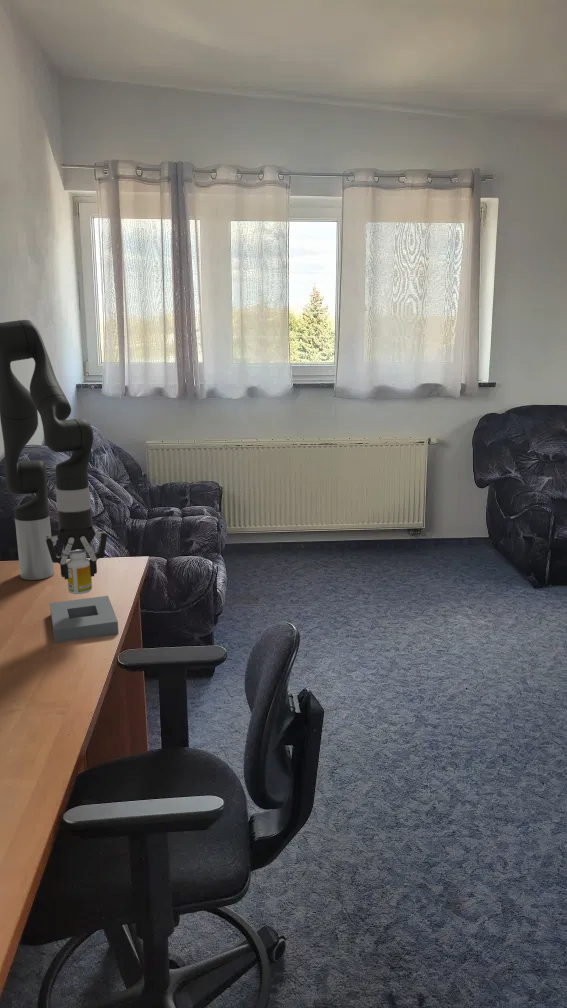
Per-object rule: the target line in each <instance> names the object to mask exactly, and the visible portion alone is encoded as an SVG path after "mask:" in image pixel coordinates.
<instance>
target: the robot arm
mask: <svg viewBox="0 0 567 1008" xmlns="http://www.w3.org/2000/svg"><path fill="white" fill-rule="evenodd" d="M29 359H33V361H34V369H33V373H32V376H31V380H30V384H29V390H28V389H27V388H26V387H25V386H24V385H23V383H22V382H21V381H20V380H19V378H17V376H16V375H15V374H14V372H13V371H12V367H11V363H12V362H16V361H18V362H19V361H22V360H23V361H24V360H29ZM38 413H39V415H38ZM71 413H72V407H71V404H70V402H69V400H68V398H67V396H66V395H65V393H64V391H63V389H62V387H61V385H60V383H59V382H58V380H57V377H56V374H55V371H54V369H53V366H52V362H51V360H50V356H49V354H48V351H47V348H46V346H45V342H44V340H43V338H42V335H41V333H40V330H39V329H38V326H37V325H36V324H35V323H34V322H33V321H32V320H28V319H21V320H18V319H17V320H12V321H3V322H0V425H1V426H0V427H1V435H2V439H3V449H4V450H3V451H4V479H5V485H6V488H7V489H6V490H7V491H8V492H9V493H10V494H11V495H16V496H17V495H29V494H35V496H34V497H33V498H32V499H30V500H29V501H27V502H25V503H23V504H21V505H18V506H17V507H15V509H14V523H15V532H16V534H15V535H16V543H17V553H18V562H19V563H18V564H19V573H20V574H19V575H20V576H19V577H20V578H21V579H22V580H25V581H38V580H44V579H48V578H50V577H52V576H54V574H55V568H54V567H55V566H54V564H59V566H60V575H61V577H62V578H64V580H68V573H67V562H68V561H67V559H68V558H69V553H70V551H75V550H77V549H79V550H86V552H87V554H88V556H89V560H90V566H91V578H92V577H95V575H96V574H97V573H98V567H97V566H98V565H97V562H98V561H97V560H99V559H102V558H104V557H105V553H106V545H107V539H108V535H107V532H106V531H105V530H101V531H95V529H94V525H93V513H92V500H91V498H92V497H91V492H90V487H89V486H90V485H89V484H90V483H89V474H88V473H89V471H88V469H89V463H90V459H91V458H90V457H91V452H92V448H93V444H94V443H93V442H94V430H93V428H92V425H91V424H90V423H89V421H87V420H86V419H84V418H73V419H71V418H70V419H69V417H70V415H71ZM39 416H40V420H41V424H42V430H43V439H44V442H45V443H44V444H45V445H46V447H47V448H48V449H49V450H51V451H52V452H55V453H66V452H72V453H71V456H70V457H69V458H68V459H66V460H63V461H61V462H58V464H56V466H55V480H56V481H55V484H56V507H57V508H56V509H57V522H58V523H57V524H58V532H57V534H56V535H55V534H54V535H52V531H51V530H52V529H51V520H50V519H51V518H50V508H49V498H48V495H49V494H48V473H47V466H46V463H45V462H44V461H43V460H40V459H39V460H38V459H34V460H33V459H31V460H19V458H20V455H21V453H22V451H23V450H24V448H25V447H26V446H27V444H28V443H29V442H30V440H31V439H32V437H33V436H34V435H35V434H36V431H37V429H38V426H39ZM95 537H96V540H97V541H98V548H97V549H98V550H97V551H96V552H94V550H93V548H92V545H91V543H92V541H93V539H94V538H95ZM57 541H59V542H60V543H61V544H62V545H63V548H62V551H61V554H60V556H58V555H57V553H56V549H55V546H56V545H57Z"/></svg>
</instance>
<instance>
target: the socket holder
mask: <svg viewBox="0 0 567 1008" xmlns="http://www.w3.org/2000/svg"><path fill="white" fill-rule="evenodd" d="M49 606H50V607H49V608H50V617H51V618H50V619H51V625H52V632H53V637H54V638H53V639H54V644H55V643H56V644H57V643H63V642H64V643H65V642H69V641H77V640H84V639H90V638H97V637H105V636H111V635H117V634H119V621H118V619H117V616H116V613H115V611H114V608H113V604H112V602H111V600H110V598H109V595H103V596H101V595H100V596H96V597H88V598H79V599H71V600H70V599H69V600H64V601H55V602H49Z"/></svg>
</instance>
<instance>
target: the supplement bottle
mask: <svg viewBox="0 0 567 1008" xmlns="http://www.w3.org/2000/svg"><path fill="white" fill-rule="evenodd" d="M87 554H88V553H87V551H86V549H85V550H79V549H77V550H75V551H71V550H70V553H69V556H68V558H69V560H68V561H66V563H67V573H68V579H67V589H68V592H69V594H72V595H83V594H87V593H88V594H89V592H91V591H92V590H93V582H92V580H93V579H92V577H91V566H90V558H87V556H88V555H87Z"/></svg>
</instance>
